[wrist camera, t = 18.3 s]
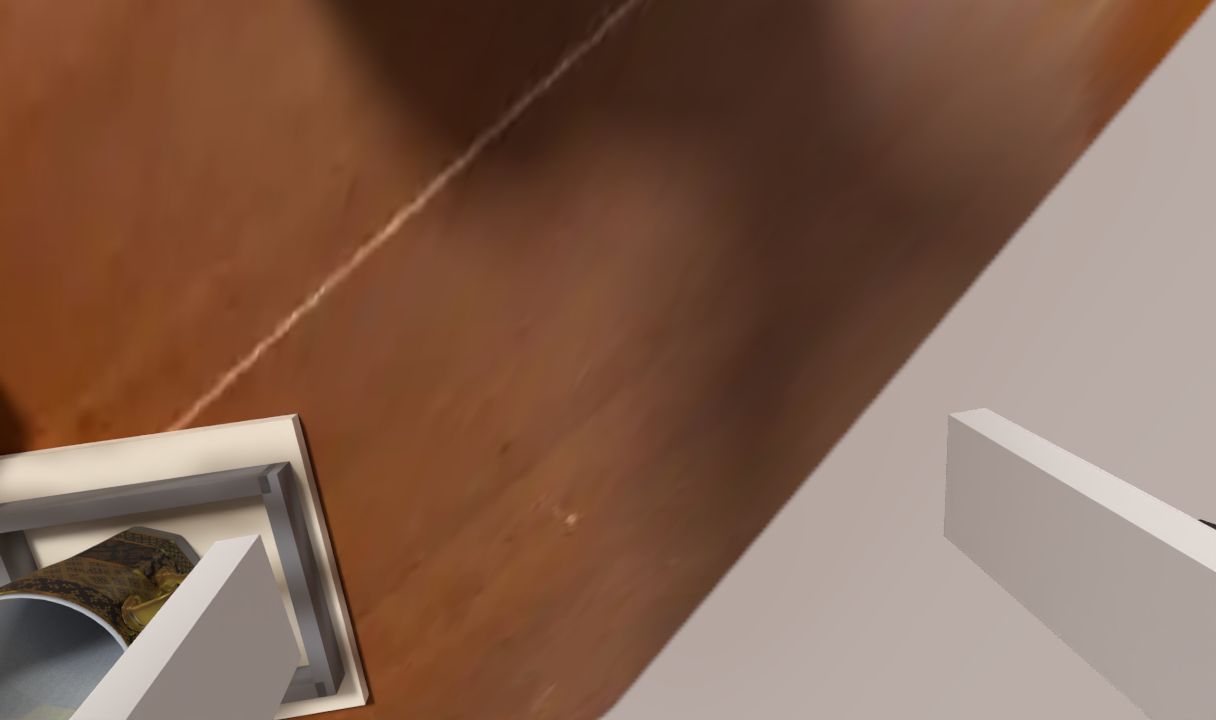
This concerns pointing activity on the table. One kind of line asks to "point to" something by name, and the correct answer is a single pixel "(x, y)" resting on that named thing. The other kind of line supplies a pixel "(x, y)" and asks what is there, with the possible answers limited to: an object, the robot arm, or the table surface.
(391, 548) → the table surface
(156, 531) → the ceramic cup
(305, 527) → the square frame board
